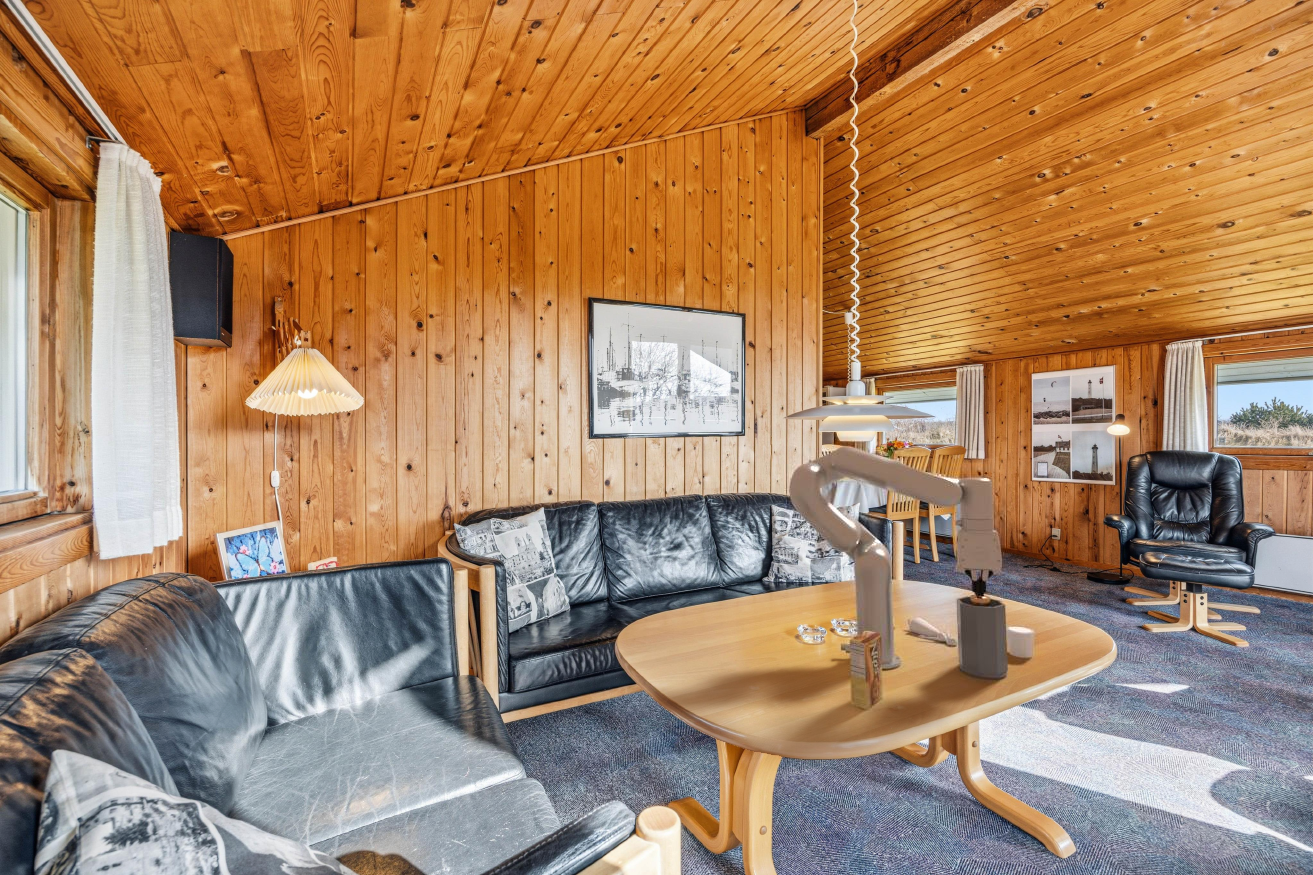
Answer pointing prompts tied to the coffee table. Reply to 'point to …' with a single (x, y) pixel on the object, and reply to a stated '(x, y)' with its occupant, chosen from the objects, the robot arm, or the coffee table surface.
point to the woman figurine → (930, 631)
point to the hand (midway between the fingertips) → (979, 595)
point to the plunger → (980, 601)
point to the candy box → (866, 669)
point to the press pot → (982, 639)
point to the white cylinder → (1020, 641)
